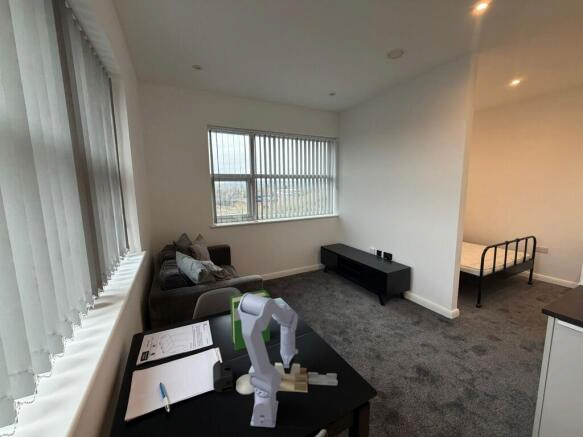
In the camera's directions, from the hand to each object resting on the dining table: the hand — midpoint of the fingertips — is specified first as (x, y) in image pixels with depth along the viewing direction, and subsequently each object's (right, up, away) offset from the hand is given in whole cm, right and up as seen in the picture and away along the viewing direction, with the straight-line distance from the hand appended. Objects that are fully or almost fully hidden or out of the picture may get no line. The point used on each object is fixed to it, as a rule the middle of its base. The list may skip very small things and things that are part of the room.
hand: (287, 371), depth 98 cm
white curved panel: (0, -3, 0) cm, 3 cm away
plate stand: (+14, -4, -1) cm, 14 cm away
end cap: (-26, -4, -2) cm, 26 cm away
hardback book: (-19, 0, +24) cm, 31 cm away
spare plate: (-16, -4, -3) cm, 16 cm away
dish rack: (0, -4, -2) cm, 4 cm away
